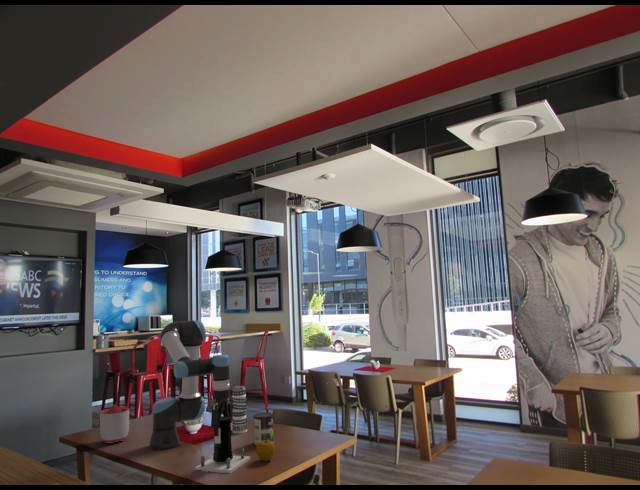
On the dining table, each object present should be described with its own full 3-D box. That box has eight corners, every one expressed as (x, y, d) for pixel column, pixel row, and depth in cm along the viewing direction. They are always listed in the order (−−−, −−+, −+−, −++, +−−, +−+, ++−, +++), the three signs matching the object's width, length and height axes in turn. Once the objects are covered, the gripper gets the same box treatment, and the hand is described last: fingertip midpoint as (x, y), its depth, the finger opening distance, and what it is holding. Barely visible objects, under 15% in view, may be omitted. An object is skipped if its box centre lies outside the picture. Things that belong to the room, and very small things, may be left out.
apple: (258, 465, 208) (258, 444, 209) (253, 459, 217) (252, 439, 218) (278, 461, 212) (277, 440, 213) (272, 455, 220) (271, 436, 221)
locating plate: (194, 470, 206) (194, 458, 206) (216, 457, 223) (216, 445, 223) (230, 473, 200) (230, 460, 201) (250, 459, 217) (249, 447, 217)
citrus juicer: (126, 435, 271) (126, 399, 273) (132, 441, 256) (132, 404, 259) (96, 440, 262) (96, 404, 265) (101, 447, 248) (101, 408, 250)
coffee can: (276, 439, 246) (275, 412, 248) (270, 445, 236) (269, 417, 238) (257, 439, 248) (257, 412, 250) (251, 445, 238) (250, 417, 240)
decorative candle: (228, 431, 267) (227, 386, 270) (242, 428, 273) (241, 384, 276) (237, 434, 260) (236, 388, 263) (251, 430, 266) (249, 386, 269)
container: (214, 456, 216) (213, 416, 218) (233, 455, 216) (232, 415, 219) (211, 463, 207) (210, 421, 209) (231, 461, 208) (230, 419, 210)
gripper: (216, 393, 204) (217, 447, 202) (239, 385, 224) (240, 434, 221) (201, 393, 207) (202, 446, 204) (225, 384, 226) (227, 433, 224)
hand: (222, 440), depth 213 cm, fingers closed on container, 8 cm apart
